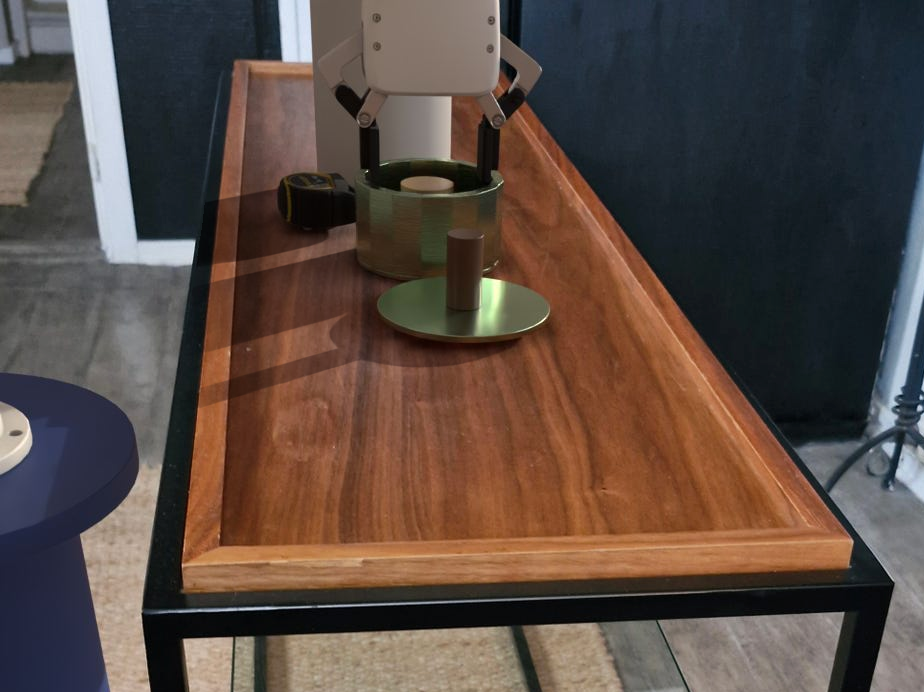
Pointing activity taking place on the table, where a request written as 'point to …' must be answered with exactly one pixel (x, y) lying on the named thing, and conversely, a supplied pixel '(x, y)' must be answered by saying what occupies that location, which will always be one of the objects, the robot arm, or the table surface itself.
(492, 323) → the lid
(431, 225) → the sewing tin
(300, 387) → the table surface
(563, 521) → the table surface
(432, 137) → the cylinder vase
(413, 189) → the spool
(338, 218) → the tape measure
